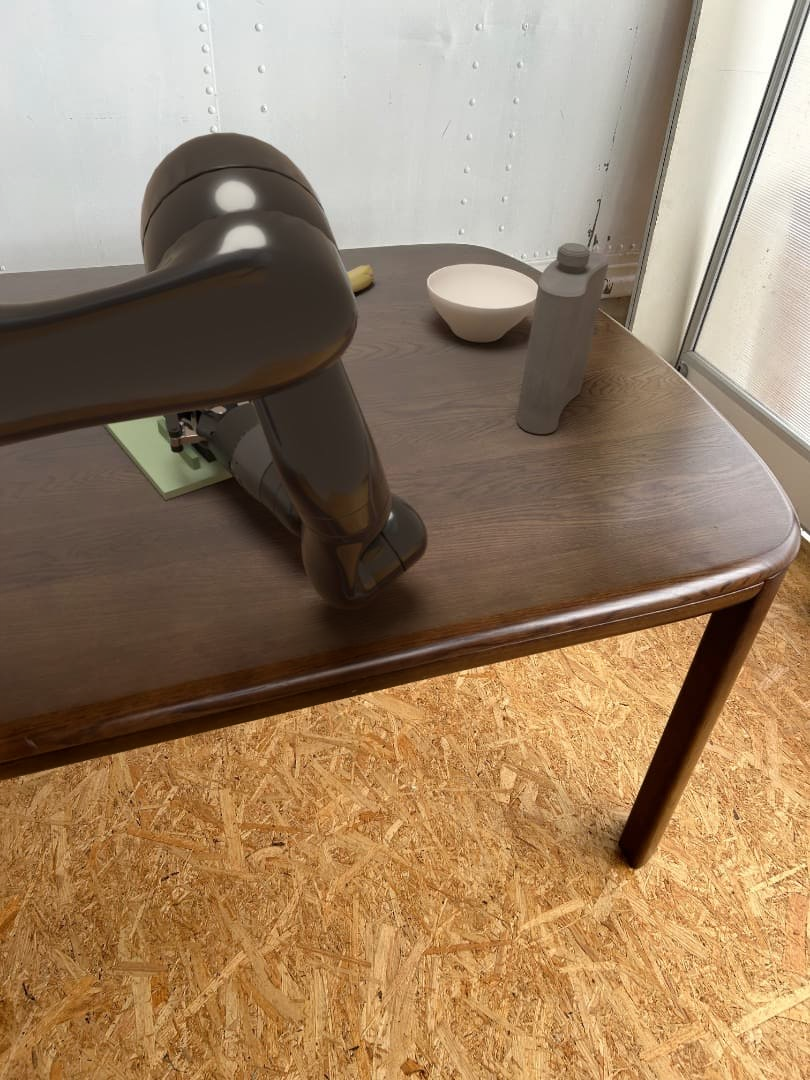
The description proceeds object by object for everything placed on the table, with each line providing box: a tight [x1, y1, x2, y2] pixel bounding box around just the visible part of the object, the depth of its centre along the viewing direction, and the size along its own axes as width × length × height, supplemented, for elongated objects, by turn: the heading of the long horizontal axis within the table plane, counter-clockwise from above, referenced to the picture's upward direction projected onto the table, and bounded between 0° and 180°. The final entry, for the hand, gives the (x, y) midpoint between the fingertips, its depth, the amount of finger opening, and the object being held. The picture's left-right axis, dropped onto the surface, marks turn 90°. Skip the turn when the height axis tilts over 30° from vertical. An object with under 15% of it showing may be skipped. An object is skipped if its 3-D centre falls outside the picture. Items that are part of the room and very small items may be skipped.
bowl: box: [426, 263, 538, 343], centre depth 113 cm, size 16×16×7 cm
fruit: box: [347, 264, 375, 293], centre depth 122 cm, size 7×15×3 cm, turn 114°
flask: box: [516, 242, 610, 435], centre depth 93 cm, size 15×6×20 cm, turn 154°
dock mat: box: [103, 415, 234, 501], centre depth 87 cm, size 16×20×10 cm
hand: (191, 382), depth 86 cm, fingers open, 4 cm apart
